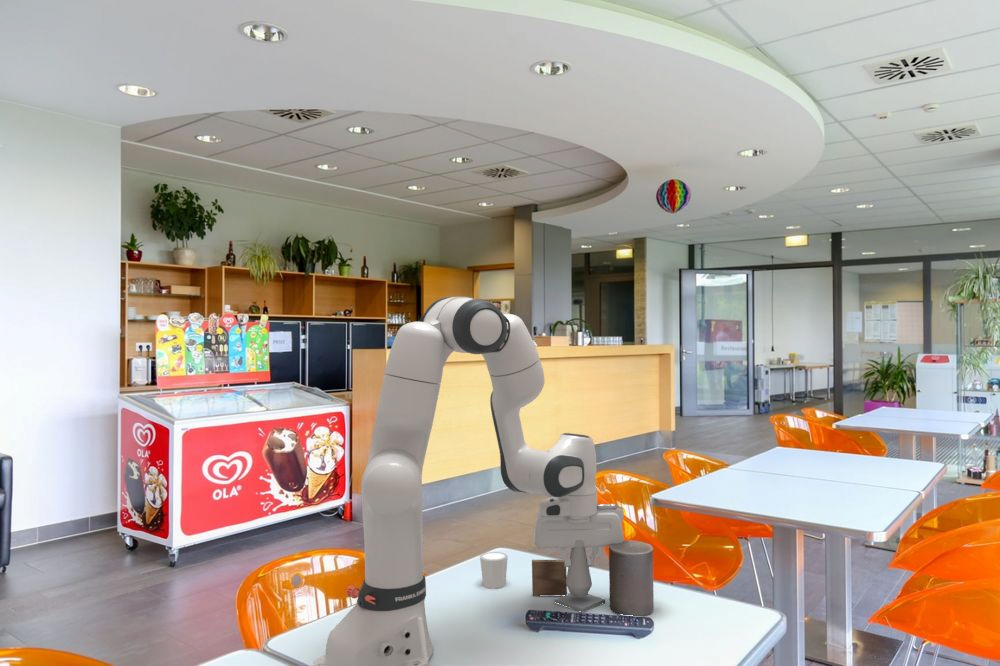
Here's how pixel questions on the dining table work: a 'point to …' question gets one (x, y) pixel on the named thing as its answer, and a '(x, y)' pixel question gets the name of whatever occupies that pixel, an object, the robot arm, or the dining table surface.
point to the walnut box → (548, 577)
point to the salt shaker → (578, 571)
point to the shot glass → (494, 569)
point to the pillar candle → (631, 578)
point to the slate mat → (580, 602)
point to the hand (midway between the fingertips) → (578, 566)
